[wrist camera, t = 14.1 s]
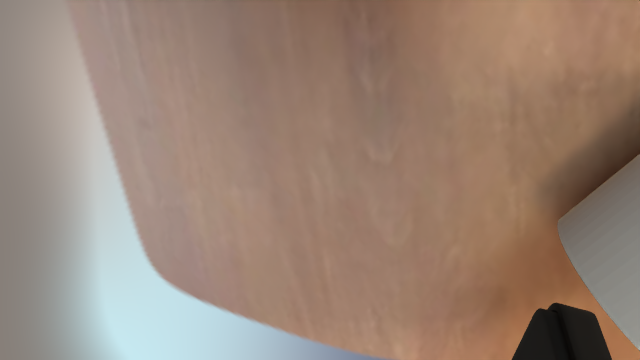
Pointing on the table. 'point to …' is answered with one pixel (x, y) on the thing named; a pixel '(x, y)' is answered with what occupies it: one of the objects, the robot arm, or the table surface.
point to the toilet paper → (609, 246)
